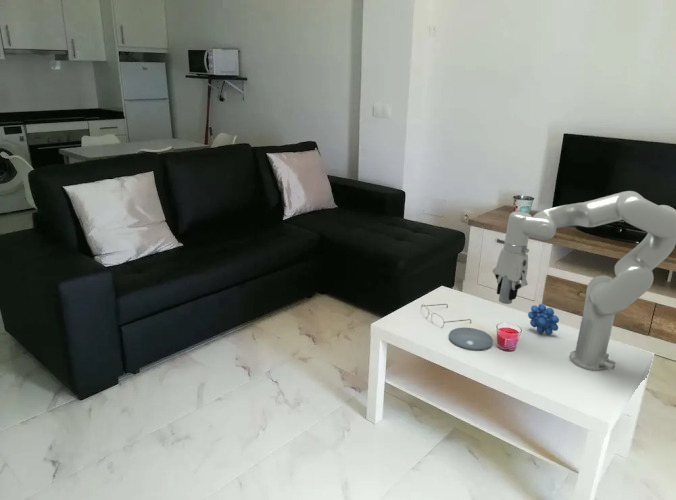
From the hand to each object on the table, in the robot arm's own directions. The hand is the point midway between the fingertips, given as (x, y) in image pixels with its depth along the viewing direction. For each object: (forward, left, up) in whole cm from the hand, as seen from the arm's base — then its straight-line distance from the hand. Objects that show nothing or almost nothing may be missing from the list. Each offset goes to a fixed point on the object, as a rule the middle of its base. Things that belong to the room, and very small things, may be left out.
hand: (506, 295), depth 185 cm
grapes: (-2, -22, -20) cm, 30 cm away
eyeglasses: (+27, +1, -21) cm, 34 cm away
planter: (0, 0, -2) cm, 2 cm away
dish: (+8, +6, -20) cm, 22 cm away
